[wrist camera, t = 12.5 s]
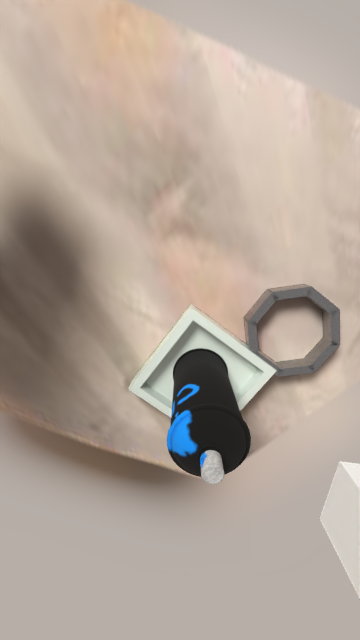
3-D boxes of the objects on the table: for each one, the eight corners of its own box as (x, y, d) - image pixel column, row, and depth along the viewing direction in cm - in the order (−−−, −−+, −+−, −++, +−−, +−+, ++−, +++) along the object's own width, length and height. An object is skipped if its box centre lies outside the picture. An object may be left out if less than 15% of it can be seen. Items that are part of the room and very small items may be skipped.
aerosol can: (235, 355, 44) (275, 445, 24) (218, 404, 46) (244, 522, 26) (180, 341, 43) (178, 422, 24) (166, 391, 45) (153, 502, 26)
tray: (131, 380, 46) (128, 389, 43) (191, 303, 43) (191, 307, 40) (208, 431, 48) (210, 444, 45) (270, 362, 45) (276, 370, 42)
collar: (227, 336, 44) (230, 342, 41) (284, 268, 41) (290, 269, 39) (290, 383, 46) (296, 391, 43) (349, 320, 43) (359, 325, 41)
